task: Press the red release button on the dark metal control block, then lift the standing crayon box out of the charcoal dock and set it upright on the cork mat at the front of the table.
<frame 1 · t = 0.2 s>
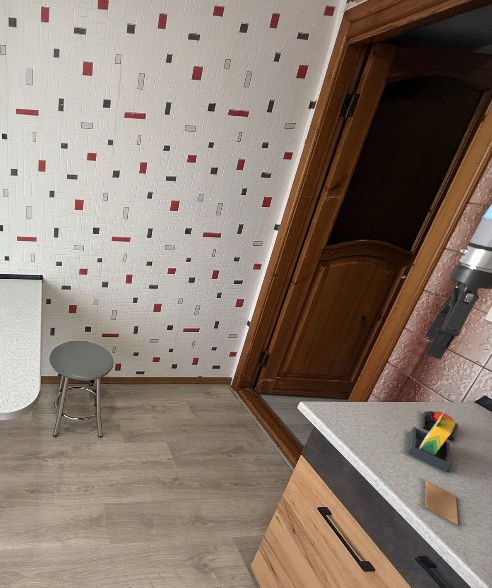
hand: (432, 346, 83), 28 cm above the kitchen counter, tool pointing down, fingers open, 13 cm apart
release button: (442, 418, 96), point 3 cm above the kitchen counter, slide at 0.1 cm
mat: (440, 502, 75), on the kitchen counter
crayon box: (426, 451, 88), resting in dock
dock: (426, 451, 88), on the kitchen counter
control block: (436, 427, 97), on the kitchen counter
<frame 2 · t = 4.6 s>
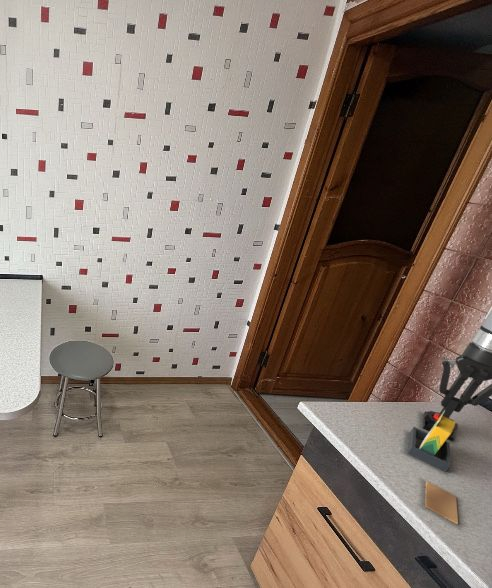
hand: (443, 416, 95), 4 cm above the kitchen counter, tool pointing down, fingers closed
release button: (441, 419, 96), point 3 cm above the kitchen counter, slide at -0.6 cm, touching gripper
everything else where it was.
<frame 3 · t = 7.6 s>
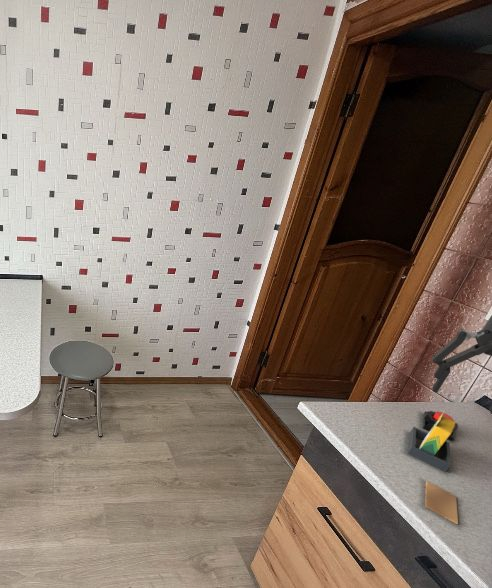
hand: (462, 400, 81), 18 cm above the kitchen counter, tool pointing down, fingers open, 9 cm apart
release button: (442, 418, 96), point 3 cm above the kitchen counter, slide at 0.1 cm
everything else where it was.
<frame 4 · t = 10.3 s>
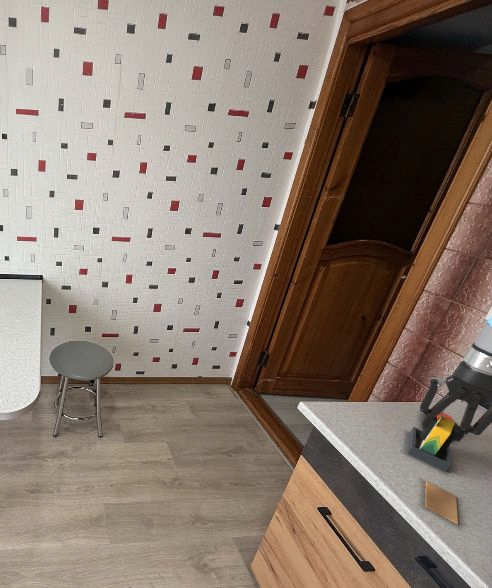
hand: (433, 441, 87), 4 cm above the kitchen counter, tool pointing down, fingers closed on crayon box, 3 cm apart
crayon box: (426, 451, 88), resting in dock, touching gripper
everything else where it was.
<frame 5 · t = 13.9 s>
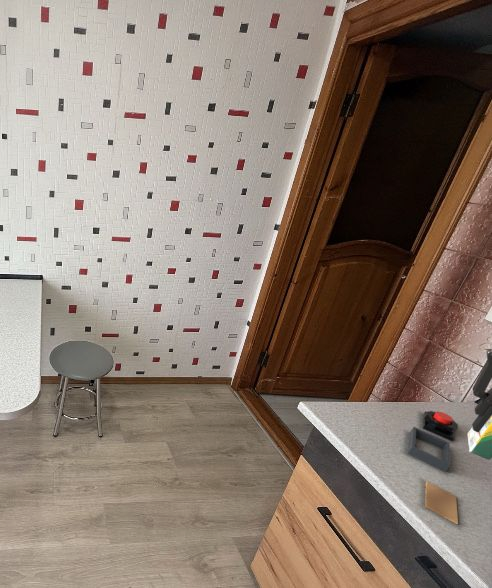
hand: (488, 433, 68), 20 cm above the kitchen counter, tool pointing down, fingers closed on crayon box, 3 cm apart
crayon box: (477, 447, 69), point 16 cm above the kitchen counter, touching gripper
everything else where it was.
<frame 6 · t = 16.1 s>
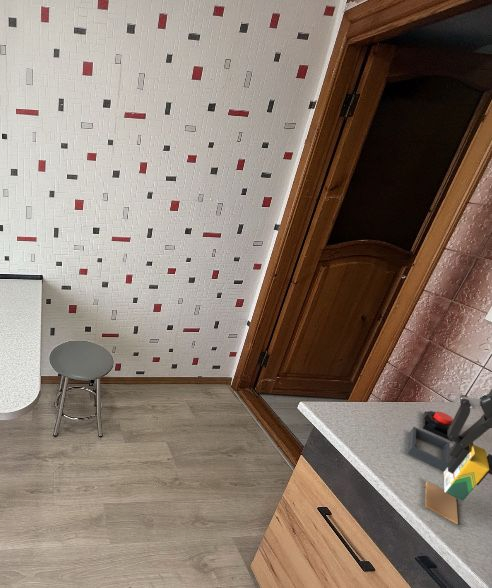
hand: (462, 474, 71), 9 cm above the kitchen counter, tool pointing down, fingers closed on crayon box, 3 cm apart
crayon box: (452, 487, 72), point 5 cm above the kitchen counter, touching gripper
everything else where it was.
when the fingers open (4 cm above the kitchen counter, at t = 17.4 s): crayon box stays where it is, resting on mat.
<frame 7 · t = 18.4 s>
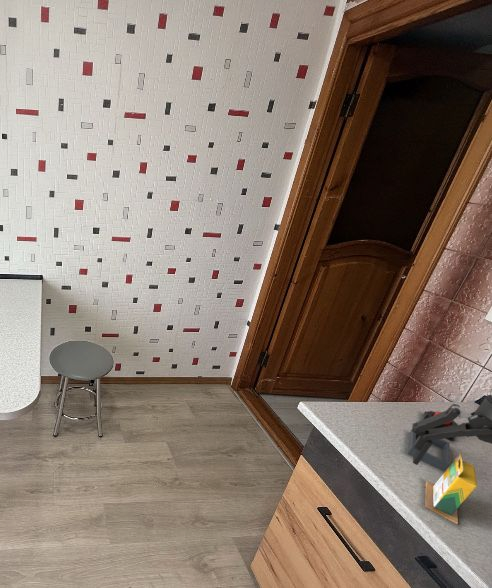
hand: (457, 481, 72), 7 cm above the kitchen counter, tool pointing down, fingers open, 13 cm apart
crayon box: (441, 501, 74), resting on mat
everything else where it was.
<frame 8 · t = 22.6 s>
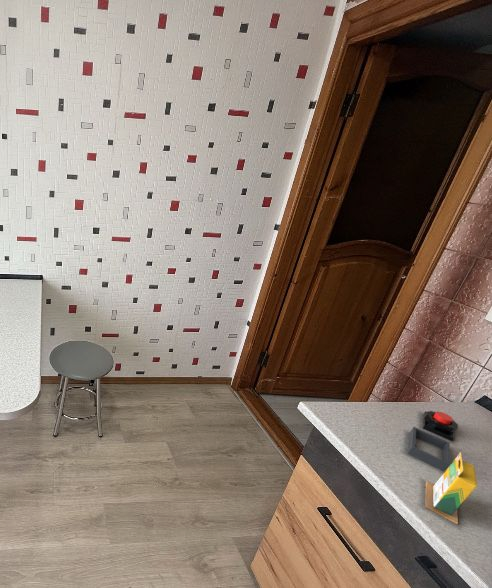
nothing on the kitchen counter moved.
at the end: release button pushed in 1.0 cm at the most during the clip, back to where it started at the end; crayon box inside the target area on the mat (0.1 cm from its centre), point 0.2 cm above the mat's base; crayon box tilted 0° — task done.
